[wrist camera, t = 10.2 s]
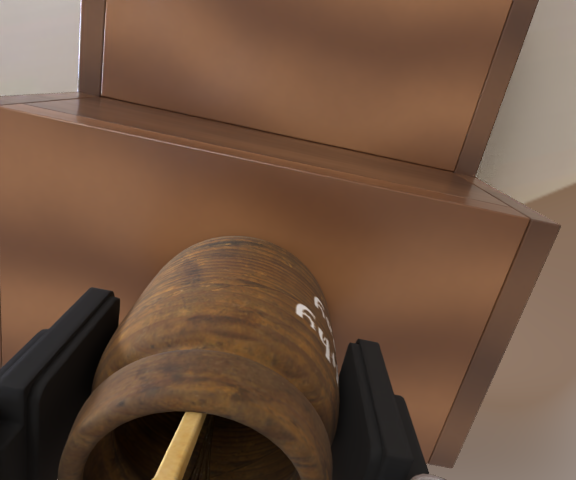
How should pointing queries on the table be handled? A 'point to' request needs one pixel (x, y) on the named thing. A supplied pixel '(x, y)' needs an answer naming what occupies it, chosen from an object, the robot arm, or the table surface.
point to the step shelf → (286, 175)
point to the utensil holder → (215, 375)
